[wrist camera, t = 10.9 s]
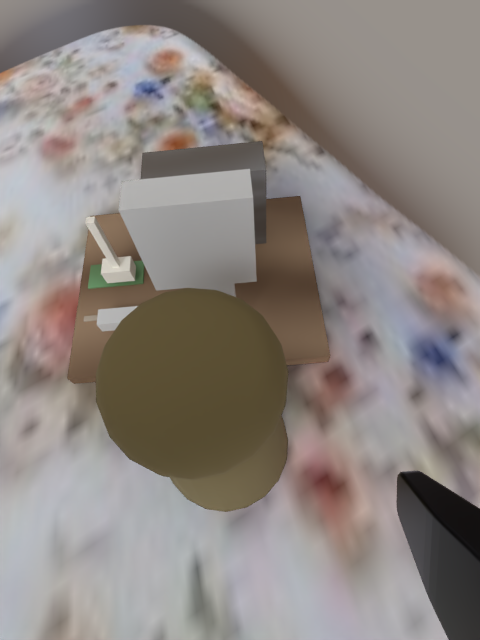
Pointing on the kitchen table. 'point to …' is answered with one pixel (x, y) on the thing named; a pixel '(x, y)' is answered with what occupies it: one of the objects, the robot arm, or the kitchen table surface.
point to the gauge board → (264, 295)
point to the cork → (198, 395)
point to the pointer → (111, 257)
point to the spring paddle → (190, 232)
